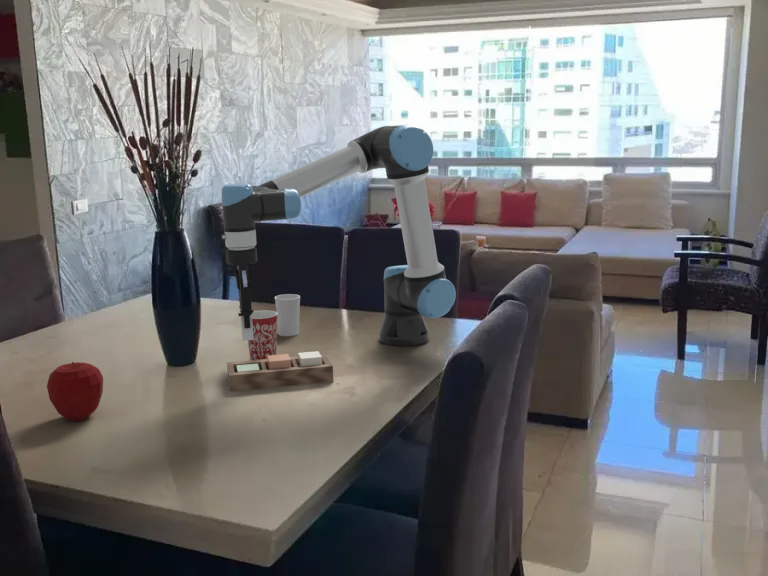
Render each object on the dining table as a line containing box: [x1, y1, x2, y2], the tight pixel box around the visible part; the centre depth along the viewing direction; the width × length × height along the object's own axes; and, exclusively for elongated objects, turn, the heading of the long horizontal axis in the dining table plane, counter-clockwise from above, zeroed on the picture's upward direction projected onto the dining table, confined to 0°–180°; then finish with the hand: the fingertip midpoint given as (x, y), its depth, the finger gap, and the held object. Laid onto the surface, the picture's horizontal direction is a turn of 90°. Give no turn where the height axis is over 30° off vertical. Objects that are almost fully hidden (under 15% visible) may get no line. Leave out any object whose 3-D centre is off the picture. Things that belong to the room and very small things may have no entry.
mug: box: [247, 310, 278, 361], centre depth 210 cm, size 13×9×14 cm
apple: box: [46, 361, 104, 422], centre depth 168 cm, size 12×12×13 cm
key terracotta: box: [267, 353, 291, 369], centre depth 192 cm, size 5×5×4 cm
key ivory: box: [297, 350, 322, 367], centre depth 194 cm, size 5×5×4 cm
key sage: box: [237, 364, 259, 372], centre depth 190 cm, size 5×5×4 cm
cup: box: [274, 293, 301, 337], centre depth 236 cm, size 8×8×12 cm
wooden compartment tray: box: [226, 353, 334, 393], centre depth 192 cm, size 26×11×4 cm, turn 104°
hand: (248, 339), depth 189 cm, fingers closed
